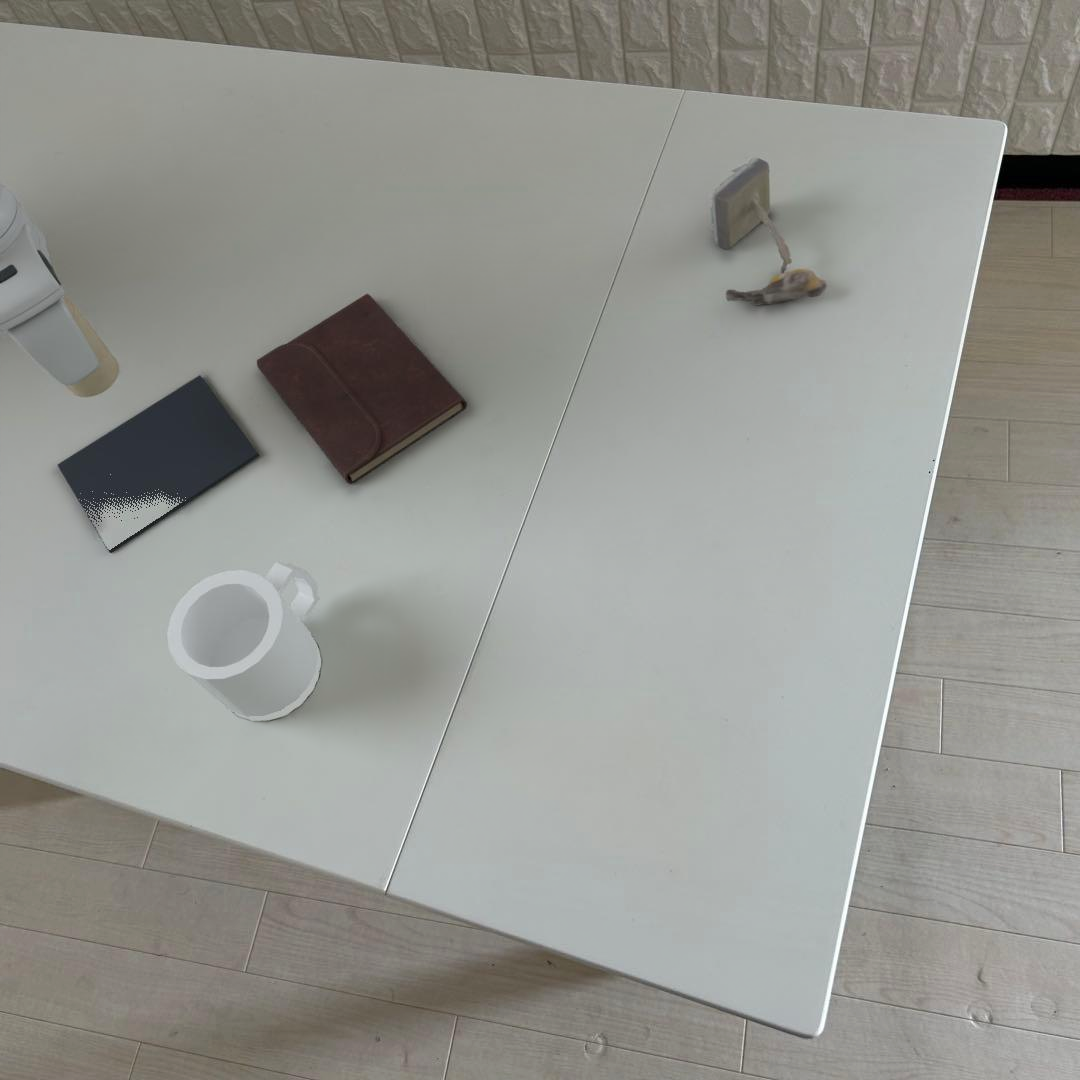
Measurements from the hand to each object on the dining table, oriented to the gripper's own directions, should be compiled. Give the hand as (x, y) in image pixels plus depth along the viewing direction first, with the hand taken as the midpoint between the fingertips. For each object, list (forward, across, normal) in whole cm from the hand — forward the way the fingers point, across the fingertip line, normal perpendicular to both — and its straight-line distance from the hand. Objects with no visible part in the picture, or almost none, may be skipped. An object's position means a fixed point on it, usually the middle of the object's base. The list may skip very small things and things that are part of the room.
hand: (71, 350), depth 101 cm
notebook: (+15, +11, +22) cm, 29 cm away
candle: (+4, 0, 0) cm, 4 cm away
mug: (+15, +33, -1) cm, 36 cm away
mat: (+15, +4, 0) cm, 15 cm away
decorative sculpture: (+15, +27, +64) cm, 71 cm away
